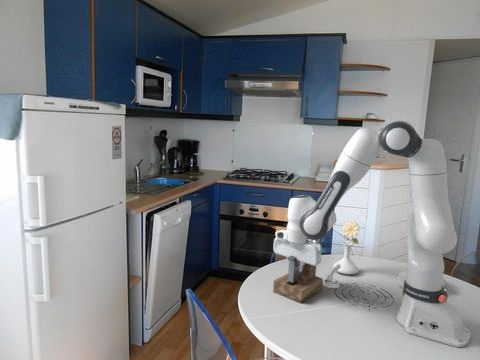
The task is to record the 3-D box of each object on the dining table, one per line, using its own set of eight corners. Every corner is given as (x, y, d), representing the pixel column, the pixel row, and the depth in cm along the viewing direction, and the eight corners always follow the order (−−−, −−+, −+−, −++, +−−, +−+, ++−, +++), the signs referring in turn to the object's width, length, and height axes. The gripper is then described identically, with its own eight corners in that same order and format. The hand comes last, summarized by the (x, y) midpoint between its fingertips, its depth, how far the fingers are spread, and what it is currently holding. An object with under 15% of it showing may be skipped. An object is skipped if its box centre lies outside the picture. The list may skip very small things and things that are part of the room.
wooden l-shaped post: (322, 290, 151) (326, 236, 147) (300, 303, 139) (305, 244, 135) (295, 280, 159) (298, 228, 156) (273, 292, 147) (276, 236, 144)
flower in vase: (327, 267, 175) (332, 216, 171) (348, 266, 178) (353, 215, 174) (343, 279, 162) (348, 224, 158) (365, 277, 166) (370, 223, 162)
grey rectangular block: (302, 277, 148) (304, 253, 146) (291, 283, 142) (293, 258, 140) (297, 275, 149) (299, 252, 148) (286, 281, 143) (287, 257, 142)
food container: (434, 302, 145) (437, 286, 144) (387, 283, 160) (389, 268, 159) (454, 289, 158) (457, 274, 157) (408, 273, 173) (410, 259, 172)
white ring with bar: (350, 280, 149) (336, 269, 149) (331, 297, 154) (318, 286, 155) (352, 270, 155) (338, 259, 156) (334, 286, 161) (321, 276, 162)
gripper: (325, 240, 139) (322, 275, 141) (281, 228, 152) (279, 260, 154) (317, 244, 134) (314, 280, 136) (272, 231, 147) (270, 264, 149)
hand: (295, 269), depth 145 cm, fingers closed on grey rectangular block, 2 cm apart
